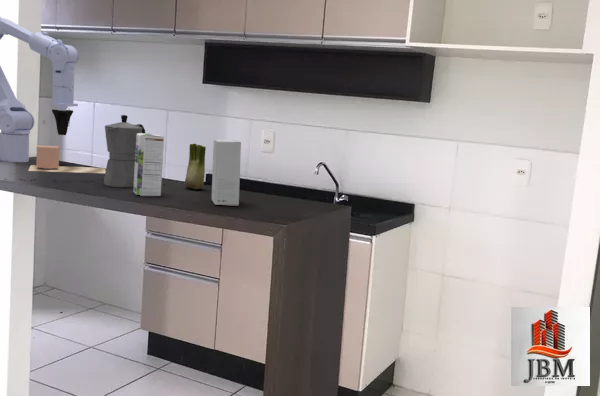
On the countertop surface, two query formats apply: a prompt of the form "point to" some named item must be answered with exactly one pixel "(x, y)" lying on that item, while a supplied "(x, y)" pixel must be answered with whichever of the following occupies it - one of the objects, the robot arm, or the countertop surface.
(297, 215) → the countertop surface
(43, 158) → the salmon orange cube
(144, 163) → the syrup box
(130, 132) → the coffeepot
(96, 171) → the maple board
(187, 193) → the countertop surface
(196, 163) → the fennel bulb
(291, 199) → the countertop surface
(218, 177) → the skincare box
